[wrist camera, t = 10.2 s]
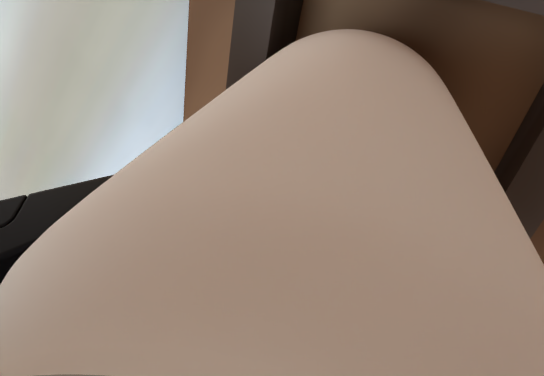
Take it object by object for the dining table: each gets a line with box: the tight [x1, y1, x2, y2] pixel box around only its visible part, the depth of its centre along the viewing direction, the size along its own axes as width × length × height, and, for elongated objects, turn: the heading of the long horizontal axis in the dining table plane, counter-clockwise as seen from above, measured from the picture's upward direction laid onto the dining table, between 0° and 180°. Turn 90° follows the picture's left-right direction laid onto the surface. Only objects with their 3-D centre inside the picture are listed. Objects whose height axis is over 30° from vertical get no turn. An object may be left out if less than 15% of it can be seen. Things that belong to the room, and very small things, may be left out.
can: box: [0, 29, 544, 376], centre depth 9 cm, size 6×6×12 cm
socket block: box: [183, 0, 544, 264], centre depth 14 cm, size 16×16×4 cm
